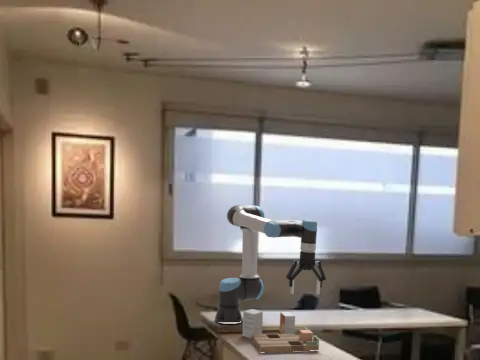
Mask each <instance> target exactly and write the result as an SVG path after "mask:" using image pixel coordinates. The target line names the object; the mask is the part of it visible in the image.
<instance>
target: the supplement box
mask: <svg viewBox="0 0 480 360" xmlns="http://www.w3.org/2000/svg"><path fill="white" fill-rule="evenodd" d="M263 315H264V313H263V311H262V310H258V309H254V308H250V309H247V310H244V311H243V314H242V337H245V338H248V339H251V340H252V335H253V334H263V319H264V318H263Z"/></svg>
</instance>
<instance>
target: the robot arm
mask: <svg viewBox="0 0 480 360" xmlns="http://www.w3.org/2000/svg"><path fill="white" fill-rule="evenodd" d="M226 219H227V222H228V223H229V224H230V225H232V226H235V227H238V228H239V229H240V231H241V232H242V245H241V246H242V249H241V250H242V251H241V252H242V254H241V255H242V256H241V257H242V258H241V259H242V261H241V263H242V264H241V274H240V275H239V277H228V278H224V279H221V281H220V282H219V288H218V289H219V290H218V291H219V292H218V293H219V295H218V308H217V311H216V313H215V317H214V322H215V321H216V322H215V323H217V322H240V321H242V322H243V315H242V312H241V309H240V304H241V302H245V301H254V300H258V299H260V298H261V297H262V296H263V294H264V290H265V289H264V288H265V286H264V283H263V281H262V279H261V278H260V275H259V274H258V232H259V233H262V234H265V235H266V237H268V238H273V239H274V238H282V237H283V238H292V237H294V238H300V248H299V249H300V251H299V260H295V259H294V260H293V262H292V264H291V267H290V268H289V271H288V273H287V274H286V275H285V278H286V279H287V280H288V281H289V282H288V287H290V291H289V293H290V294H291V295H294V294H295V293H294V291H295V290H294V289H295V278H297V276H299V274H300V273H301V272H303V270H304V271H310V270H311V271H312V273H313V274H314V275H315V276H316V278H317V280H316V291H315V292H316V295H320V292H321V291H320V290H321V288H322V286H323V281H326V280H327V277H326V276H325V272H324V270H323V268H322V262H321V261H320V260H317V261H316V247H317V233H318V222H317V221H316V220H313V219H303V220H302V222H298V221H294V220H288V221H275V220H273V219H269V218H265V213H264V211H263V209H262V208H261V207H260V206H259V205H252V204H250V205H245V204H244V205H243V204H242V205H240V204H239V205H237V204H236V205H233V206H231V207H230V208H229V209H228V210H227V213H226ZM298 265H299V266H298ZM315 266H317V269H318V271H317V270H316V268H315ZM296 268H297V269H296Z"/></svg>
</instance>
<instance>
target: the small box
mask: <svg viewBox="0 0 480 360" xmlns="http://www.w3.org/2000/svg"><path fill="white" fill-rule="evenodd" d="M295 326H296V316H295V315H294V314H293V313H292V312H289V311H285V312H283V311H282V312H280V314H279V330H278V331H279V334H294V331H296V329H295V328H296V327H295Z"/></svg>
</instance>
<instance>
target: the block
mask: <svg viewBox="0 0 480 360" xmlns="http://www.w3.org/2000/svg"><path fill="white" fill-rule="evenodd" d="M298 331H299V338H300V339H301V340H302V341H313V335H314V332H312V331H311V329H308V330H304V329H300V330H298Z"/></svg>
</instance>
